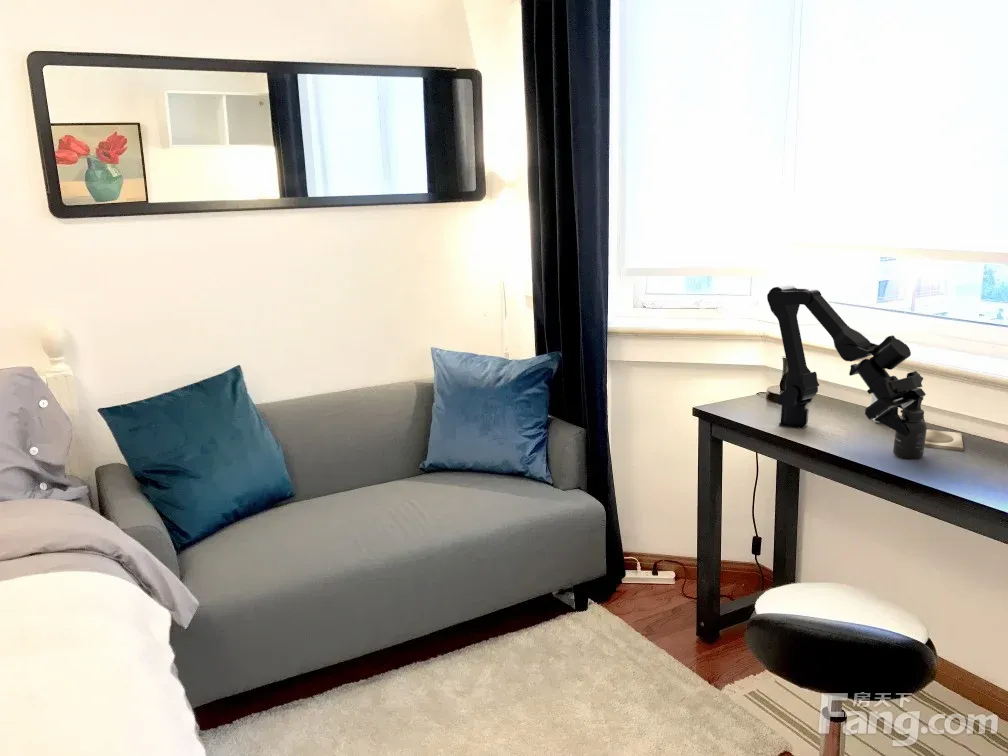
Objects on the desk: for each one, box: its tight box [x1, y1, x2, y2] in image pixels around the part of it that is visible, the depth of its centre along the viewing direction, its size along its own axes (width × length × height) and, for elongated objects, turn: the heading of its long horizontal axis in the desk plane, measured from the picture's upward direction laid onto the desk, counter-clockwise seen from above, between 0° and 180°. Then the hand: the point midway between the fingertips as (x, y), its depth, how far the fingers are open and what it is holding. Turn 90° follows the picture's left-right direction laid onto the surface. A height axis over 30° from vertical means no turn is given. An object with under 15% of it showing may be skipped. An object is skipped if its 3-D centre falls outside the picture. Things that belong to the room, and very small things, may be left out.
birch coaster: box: [924, 429, 964, 452], centre depth 210 cm, size 13×13×1 cm
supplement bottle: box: [892, 407, 928, 461], centre depth 197 cm, size 7×7×12 cm
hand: (916, 432), depth 196 cm, fingers open, 8 cm apart
